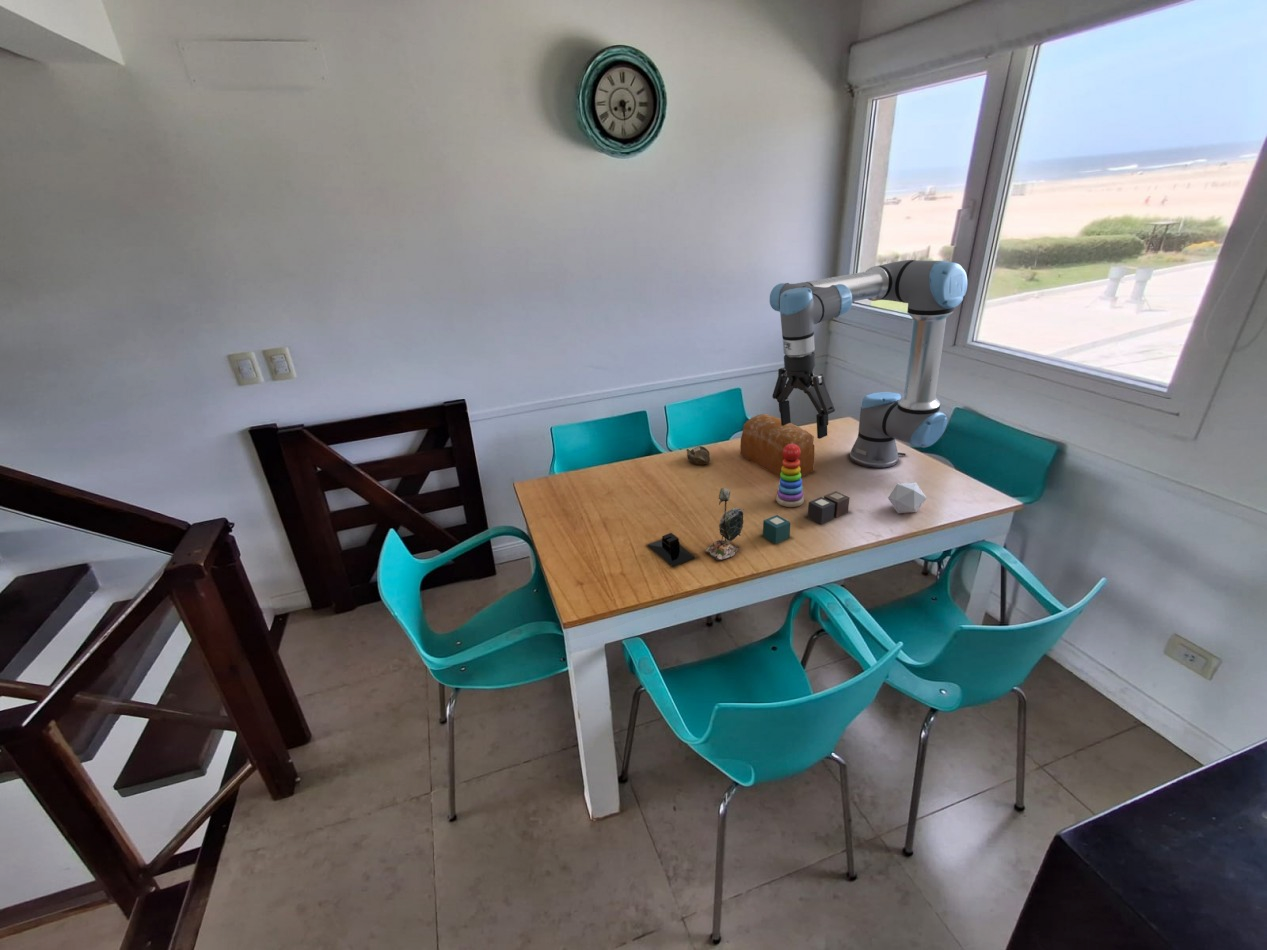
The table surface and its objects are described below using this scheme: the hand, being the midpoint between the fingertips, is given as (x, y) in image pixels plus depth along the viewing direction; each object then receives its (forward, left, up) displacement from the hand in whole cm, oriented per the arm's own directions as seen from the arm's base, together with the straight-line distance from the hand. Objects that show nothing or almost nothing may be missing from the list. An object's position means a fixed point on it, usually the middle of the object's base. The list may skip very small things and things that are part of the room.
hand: (803, 430), depth 149 cm
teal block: (+13, +5, -27) cm, 30 cm away
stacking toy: (-4, -7, -27) cm, 28 cm away
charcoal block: (-4, +5, -27) cm, 27 cm away
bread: (-20, -30, -27) cm, 45 cm away
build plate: (+40, -6, -27) cm, 48 cm away
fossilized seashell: (0, -48, -27) cm, 55 cm away
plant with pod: (+28, +2, -27) cm, 39 cm away
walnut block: (-10, +5, -27) cm, 29 cm away
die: (-26, +16, -27) cm, 41 cm away
